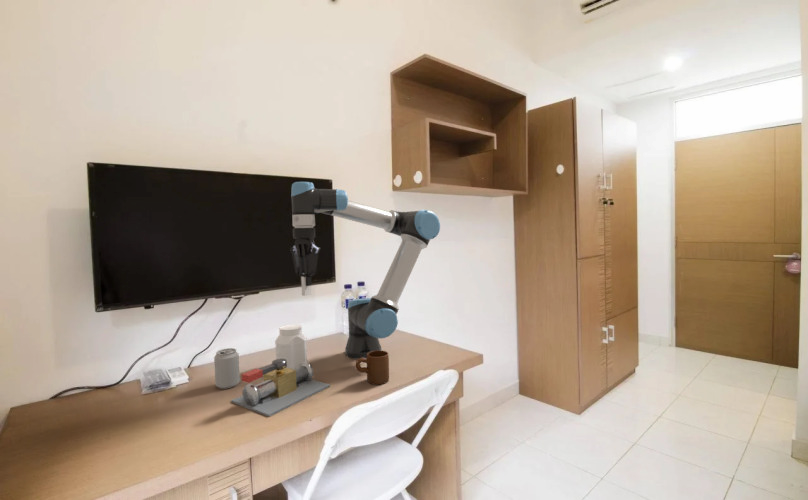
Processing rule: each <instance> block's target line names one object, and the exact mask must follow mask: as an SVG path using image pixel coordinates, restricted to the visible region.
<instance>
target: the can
mask: <svg viewBox="0 0 808 500" xmlns="http://www.w3.org/2000/svg"><path fill="white" fill-rule="evenodd" d="M239 354H240V353H238V351H237V349H236V348H222V349H219V350H217V351H216V353H215V356H214V357H213V359H214V360H213V361H214V377H215V379H214V380H215V381H214V382H215V387H217V388H218V389H221V390H226V389H231V388H234V387H236V386H237V385H238V384H239V383H240V382H241V378H240V356H239Z"/></svg>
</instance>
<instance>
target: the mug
mask: <svg viewBox="0 0 808 500" xmlns="http://www.w3.org/2000/svg"><path fill="white" fill-rule="evenodd" d="M361 363H363V364H364V363H365V364H366V367H365V366H364V367H362V366H361ZM355 369H356V370H357V371H358V373H361V374H362V373H365V374H366V380H367V383H369V384H371V385H377V386H378V385H384V384H386V383H388V382H389V380H390V357H389V353H388V351H386V350H381V351H371V352H369V353H367V358H363V357H362V358H359V359H356V362H355Z"/></svg>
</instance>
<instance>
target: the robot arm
mask: <svg viewBox="0 0 808 500" xmlns="http://www.w3.org/2000/svg"><path fill="white" fill-rule="evenodd" d="M290 193H291V195H290V196H291V197H290V198H291V211H292V213H291V215H292V227H293V228H292V237H293V238H292V239H294V245H293V246H292V247H290V248H289V251H290V253H291V256H292V260H293V266H294V271H295V274H296V275H298V276H299V278H300V286H301V296H304V297H305V296H310V295H312V293H311V290H312V289H311V286H312V276H314V275H316V273H317V265H318V259H319V254H320V251H321V247H319V246H317V245H316V244H315V240H314V239H316V227H315V226H316V217H315V214H319V213H321V214H324V215H329V216H333V217H337V218H341V219H345V220H348V221H352V222H356V223H359V224H360V223H361V224H364V225H368V226H372V227H375V228H380V229H383V230H384V231H385V233H389V234H392V235H396V236H399V237H401V242H400V245H399V246H398V249H397V251H396V253H395V256H394V258H393V260H392V262H391V264H390V266H389V268H388V270H387V273H386V275H385V276H384V279H383V281H382V284H381V286H380V288H379V290H378V291H377V293H376V295H373V296H371V297H366V298H356V299H351V300H349V301H348V303H347V304H348V305H347V316H348V318H347V319H348V338H347V341H346V344H345V345H346V346H345V348H344V353H345V357H348V358H350V359H354V360H355V359H356V360H358V359H359V358H362V357H363V358H367V353H369V352H371V351H382V345H381V343H380V339H386V338H387V337H390V336H391V335H392V334H394V332H395V331H396V330H397V327H398V323H399V320H398V316H397V314H398V312H399V306H398V302H399V301H400V299H401V296H402V294H403V292H404V289H405V287H406V285H407V282H408V281H409V278H410V276H411V274H412V272H413V270H414V268H415V265H416V262H417V260H418V258H419V256H420V254H421V251H422V250H424V249H426V248H428V245H429V243H430V241H431V240H434V239H436V238H437V237H438V235H439V233H440V231H441V222H440V219H439V217H438V215H437V214H436V213H435V212H433V210H432V211H431V210H428V209H420V210H414V211H413V210H412V211H397V210H389V211H387V210H383V209H380V208H377V207H373V206H370V205H366V204H364V203H359V202H355V201H352V200H349V197H348V193H347V191H346V190H344V189H338V188H336V189H335V188H331V189H330V188H329V189H328V188H327V189H326V188H315V185H314V183H313V182H312V181H311V182H310V181H295V182H293V183H292V184H291V192H290Z"/></svg>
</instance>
